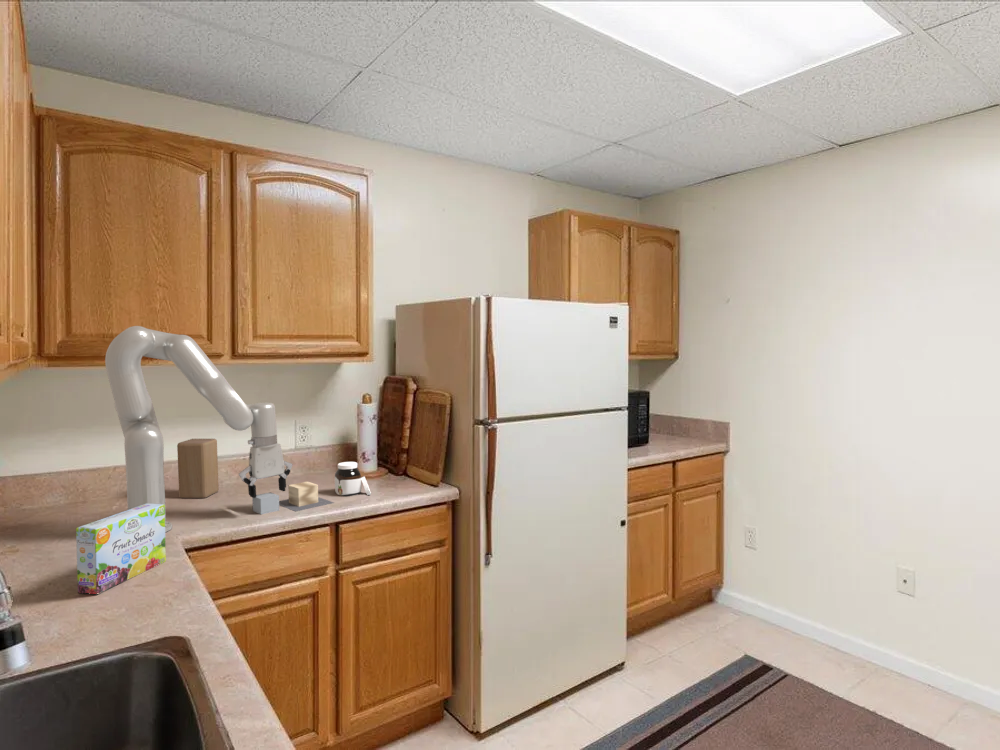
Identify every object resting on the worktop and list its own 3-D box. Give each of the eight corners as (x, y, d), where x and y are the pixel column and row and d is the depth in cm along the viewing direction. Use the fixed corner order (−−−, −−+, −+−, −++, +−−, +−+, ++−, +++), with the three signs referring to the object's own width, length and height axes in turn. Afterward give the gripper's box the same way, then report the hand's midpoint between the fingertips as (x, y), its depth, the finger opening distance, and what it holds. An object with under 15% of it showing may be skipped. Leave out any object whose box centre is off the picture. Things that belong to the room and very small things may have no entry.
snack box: (98, 596, 132) (95, 528, 131) (76, 594, 133) (73, 527, 132) (168, 561, 153) (165, 502, 152) (148, 560, 154) (146, 501, 153)
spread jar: (332, 494, 218) (331, 463, 217) (360, 489, 225) (359, 458, 224) (347, 501, 208) (346, 468, 208) (376, 495, 216) (375, 463, 215)
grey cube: (261, 517, 190) (260, 499, 190) (253, 514, 194) (252, 495, 194) (279, 513, 195) (278, 495, 194) (271, 510, 199) (270, 492, 198)
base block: (298, 506, 199) (298, 488, 198) (288, 502, 204) (288, 485, 203) (318, 502, 204) (317, 484, 203) (308, 498, 209) (307, 481, 208)
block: (193, 491, 224) (191, 438, 223) (219, 491, 223) (218, 438, 222) (178, 498, 214) (175, 442, 213) (205, 498, 213) (203, 442, 212)
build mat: (295, 514, 193) (295, 511, 193) (272, 505, 204) (272, 502, 204) (334, 505, 203) (334, 502, 203) (310, 497, 214) (310, 494, 214)
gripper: (242, 446, 184) (246, 501, 186) (295, 438, 197) (298, 490, 198) (232, 444, 190) (236, 497, 191) (284, 436, 202) (287, 486, 203)
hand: (267, 493), depth 194 cm, fingers open, 9 cm apart
